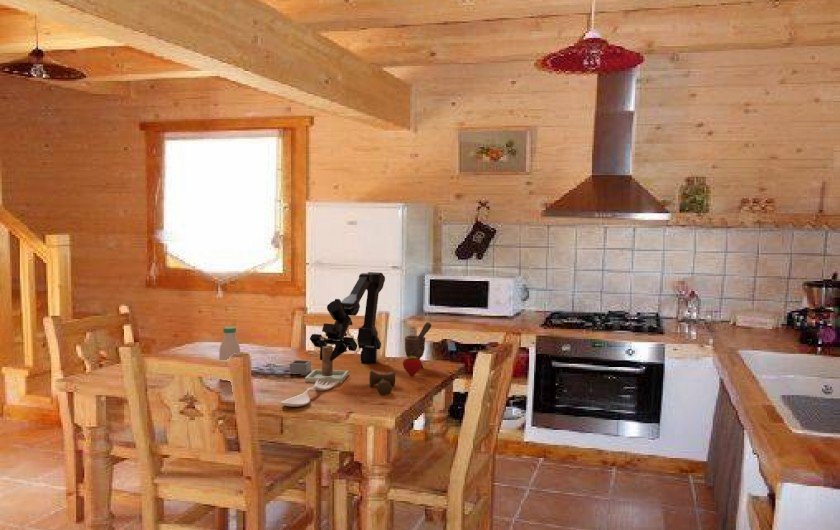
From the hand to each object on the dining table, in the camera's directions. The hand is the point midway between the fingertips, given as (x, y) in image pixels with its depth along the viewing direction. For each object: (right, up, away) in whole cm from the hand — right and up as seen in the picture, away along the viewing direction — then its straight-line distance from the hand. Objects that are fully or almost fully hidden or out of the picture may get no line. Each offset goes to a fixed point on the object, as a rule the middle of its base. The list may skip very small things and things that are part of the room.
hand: (325, 360), depth 250 cm
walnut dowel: (0, -6, +2) cm, 6 cm away
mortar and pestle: (+35, -7, +24) cm, 44 cm away
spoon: (-2, -10, -24) cm, 26 cm away
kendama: (+23, -9, -9) cm, 26 cm away
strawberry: (+33, -8, +8) cm, 35 cm away
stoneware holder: (-11, -7, +10) cm, 17 cm away
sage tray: (0, -8, +2) cm, 8 cm away
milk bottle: (-37, -8, 0) cm, 38 cm away
